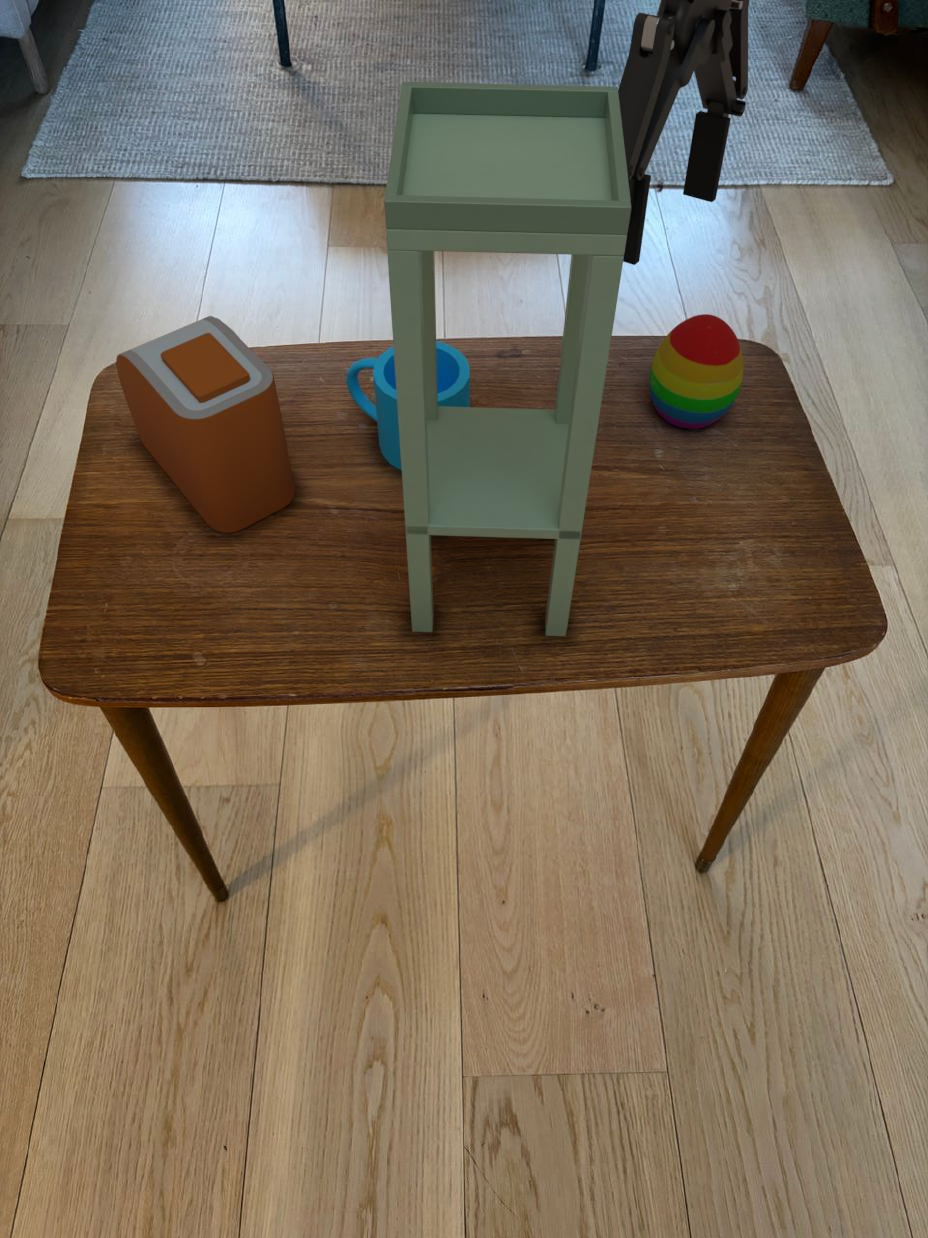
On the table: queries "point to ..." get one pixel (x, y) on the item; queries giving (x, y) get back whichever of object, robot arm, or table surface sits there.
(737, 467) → the table surface
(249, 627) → the table surface
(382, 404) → the mug
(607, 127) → the stand
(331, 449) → the table surface
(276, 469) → the alarm clock
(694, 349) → the decorative egg
